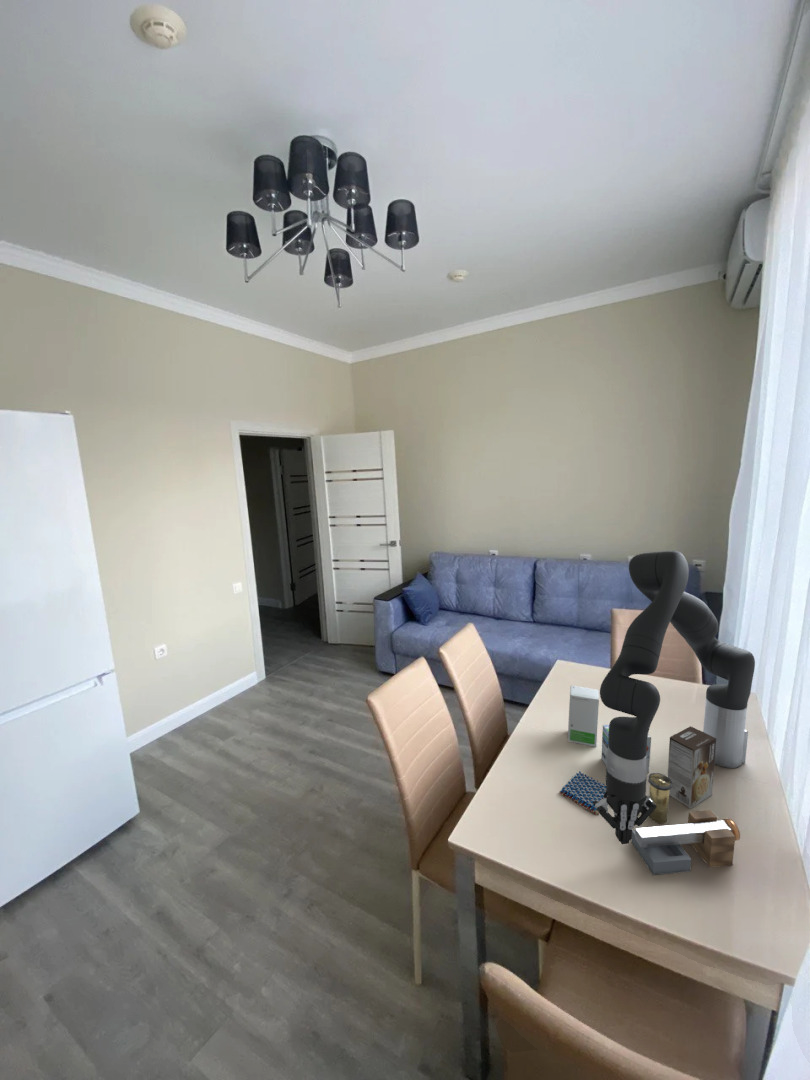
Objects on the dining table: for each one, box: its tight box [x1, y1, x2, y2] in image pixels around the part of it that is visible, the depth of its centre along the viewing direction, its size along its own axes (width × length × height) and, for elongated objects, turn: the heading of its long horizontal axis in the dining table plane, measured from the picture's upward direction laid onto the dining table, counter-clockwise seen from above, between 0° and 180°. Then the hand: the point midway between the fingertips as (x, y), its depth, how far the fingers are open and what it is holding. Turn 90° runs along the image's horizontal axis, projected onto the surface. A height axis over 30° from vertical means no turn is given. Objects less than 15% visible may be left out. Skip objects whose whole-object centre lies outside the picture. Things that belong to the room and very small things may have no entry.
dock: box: [630, 829, 692, 876], centre depth 95 cm, size 8×8×3 cm
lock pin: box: [634, 818, 741, 848], centre depth 94 cm, size 21×4×4 cm, turn 93°
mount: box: [687, 809, 736, 868], centre depth 95 cm, size 5×7×7 cm
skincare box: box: [567, 684, 600, 748], centre depth 134 cm, size 8×7×16 cm
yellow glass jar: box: [647, 772, 672, 825], centre depth 104 cm, size 5×5×10 cm
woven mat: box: [559, 770, 606, 815], centre depth 113 cm, size 10×11×2 cm
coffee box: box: [667, 726, 716, 809], centre depth 110 cm, size 9×6×16 cm
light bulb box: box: [600, 724, 652, 774], centre depth 122 cm, size 11×7×11 cm, turn 90°
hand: (622, 840), depth 94 cm, fingers closed
